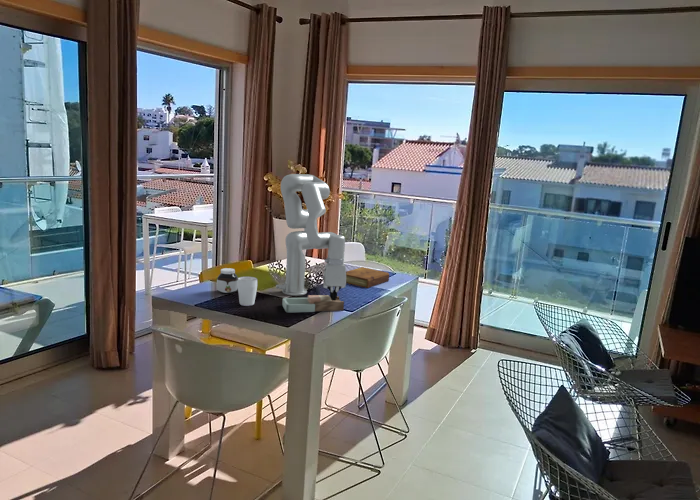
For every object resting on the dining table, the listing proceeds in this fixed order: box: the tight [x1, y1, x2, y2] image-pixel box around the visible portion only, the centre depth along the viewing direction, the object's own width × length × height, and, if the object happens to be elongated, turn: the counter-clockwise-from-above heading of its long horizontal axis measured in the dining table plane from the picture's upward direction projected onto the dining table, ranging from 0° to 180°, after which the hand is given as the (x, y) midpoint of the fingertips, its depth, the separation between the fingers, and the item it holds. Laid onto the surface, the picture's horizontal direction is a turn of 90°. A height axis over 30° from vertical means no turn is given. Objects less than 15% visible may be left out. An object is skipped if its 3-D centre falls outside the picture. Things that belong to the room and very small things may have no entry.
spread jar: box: [216, 267, 239, 295], centre depth 266 cm, size 12×11×12 cm
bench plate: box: [314, 295, 345, 312], centre depth 251 cm, size 14×9×4 cm, turn 107°
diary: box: [346, 266, 390, 289], centre depth 307 cm, size 23×19×6 cm
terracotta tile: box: [307, 294, 321, 304], centre depth 249 cm, size 5×5×2 cm
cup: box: [237, 276, 258, 307], centre depth 248 cm, size 9×9×12 cm
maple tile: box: [318, 294, 331, 302], centre depth 250 cm, size 5×5×2 cm
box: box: [281, 297, 316, 313], centre depth 247 cm, size 13×11×4 cm
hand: (333, 299), depth 252 cm, fingers closed
